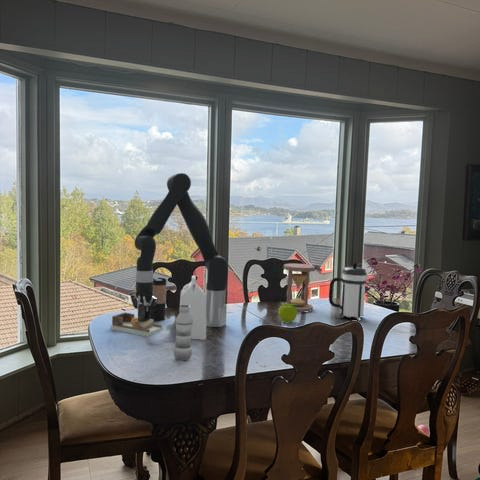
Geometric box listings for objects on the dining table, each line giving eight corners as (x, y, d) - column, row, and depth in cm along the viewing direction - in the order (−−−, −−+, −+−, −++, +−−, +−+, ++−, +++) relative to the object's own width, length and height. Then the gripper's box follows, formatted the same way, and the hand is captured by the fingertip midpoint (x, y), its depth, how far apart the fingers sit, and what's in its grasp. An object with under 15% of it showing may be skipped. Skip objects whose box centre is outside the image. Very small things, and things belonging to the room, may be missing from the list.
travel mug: (162, 321, 223) (163, 280, 221) (147, 320, 224) (148, 279, 223) (167, 318, 230) (168, 278, 229) (153, 316, 232) (154, 277, 230)
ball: (142, 323, 209) (139, 315, 209) (137, 325, 205) (134, 317, 206) (136, 326, 211) (133, 317, 211) (130, 328, 207) (127, 319, 207)
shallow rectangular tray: (163, 330, 209) (163, 324, 209) (147, 336, 198) (147, 330, 198) (127, 323, 218) (127, 318, 217) (110, 329, 207) (110, 323, 207)
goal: (134, 322, 214) (134, 314, 214) (122, 326, 206) (122, 317, 206) (124, 320, 216) (124, 312, 216) (112, 324, 208) (112, 316, 208)
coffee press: (354, 313, 258) (358, 260, 255) (371, 321, 243) (375, 264, 240) (327, 314, 252) (330, 260, 250) (342, 322, 237) (346, 264, 235)
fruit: (279, 319, 238) (280, 300, 237) (297, 320, 236) (298, 301, 235) (276, 323, 229) (277, 303, 228) (295, 325, 227) (296, 305, 226)
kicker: (153, 326, 208) (153, 304, 208) (143, 329, 202) (144, 307, 201) (144, 324, 211) (144, 302, 210) (134, 327, 204) (134, 305, 203)
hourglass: (302, 305, 274) (304, 263, 272) (318, 311, 258) (321, 267, 256) (276, 306, 267) (278, 263, 265) (291, 313, 251) (293, 268, 249)
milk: (206, 339, 198) (208, 279, 196) (178, 339, 196) (181, 278, 194) (203, 331, 210) (205, 274, 208) (178, 331, 208) (180, 274, 206)
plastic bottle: (174, 356, 175) (175, 304, 173) (192, 356, 176) (193, 304, 174) (173, 362, 169) (174, 308, 167) (191, 362, 169) (193, 308, 168)
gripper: (162, 280, 205) (162, 318, 207) (136, 277, 211) (136, 314, 212) (152, 283, 198) (152, 322, 200) (126, 279, 204) (125, 318, 205)
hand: (144, 318), depth 206 cm, fingers closed on kicker, 3 cm apart
